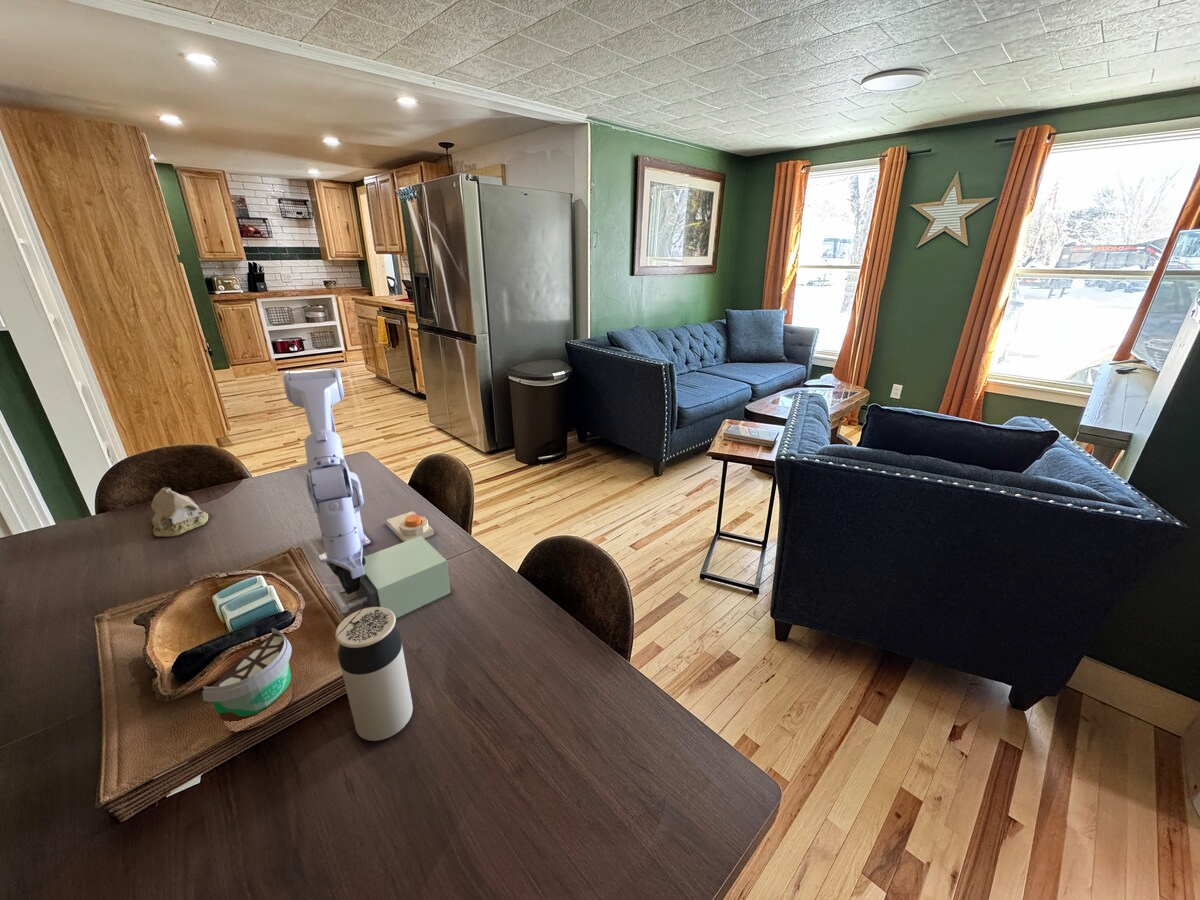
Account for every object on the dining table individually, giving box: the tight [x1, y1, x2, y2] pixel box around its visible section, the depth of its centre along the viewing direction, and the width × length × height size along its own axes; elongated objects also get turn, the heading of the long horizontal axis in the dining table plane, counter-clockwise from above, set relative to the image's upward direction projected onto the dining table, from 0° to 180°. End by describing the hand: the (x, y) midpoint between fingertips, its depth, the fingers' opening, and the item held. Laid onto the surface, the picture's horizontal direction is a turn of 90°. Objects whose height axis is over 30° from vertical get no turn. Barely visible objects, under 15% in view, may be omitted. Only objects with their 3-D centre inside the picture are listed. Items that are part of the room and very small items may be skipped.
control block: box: [386, 510, 435, 543], centre depth 119 cm, size 12×7×4 cm, turn 43°
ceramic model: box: [150, 486, 209, 537], centre depth 118 cm, size 14×11×10 cm
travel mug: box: [335, 607, 414, 742], centre depth 68 cm, size 8×8×18 cm
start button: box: [405, 513, 422, 527], centre depth 116 cm, size 4×4×2 cm
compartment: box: [330, 575, 380, 614], centre depth 94 cm, size 17×11×6 cm, turn 133°
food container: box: [202, 628, 293, 722], centre depth 71 cm, size 12×6×10 cm, turn 168°
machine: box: [363, 536, 451, 619], centre depth 96 cm, size 14×12×8 cm
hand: (352, 590), depth 90 cm, fingers closed
